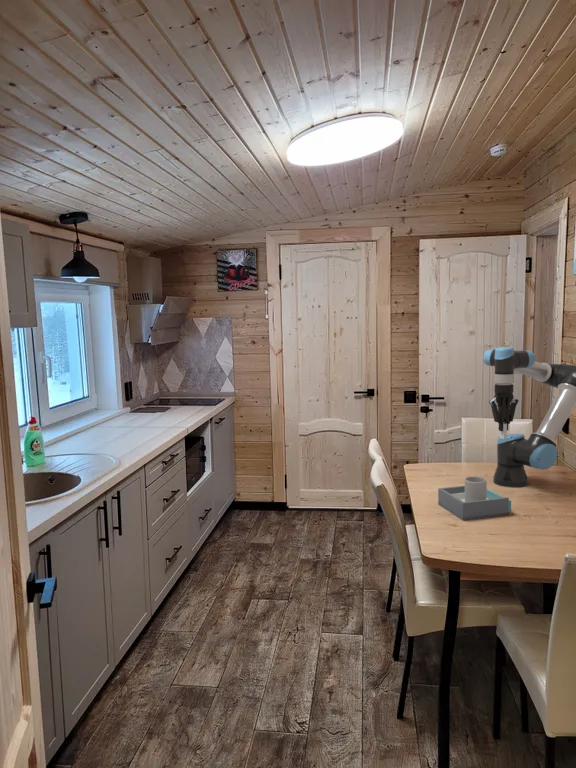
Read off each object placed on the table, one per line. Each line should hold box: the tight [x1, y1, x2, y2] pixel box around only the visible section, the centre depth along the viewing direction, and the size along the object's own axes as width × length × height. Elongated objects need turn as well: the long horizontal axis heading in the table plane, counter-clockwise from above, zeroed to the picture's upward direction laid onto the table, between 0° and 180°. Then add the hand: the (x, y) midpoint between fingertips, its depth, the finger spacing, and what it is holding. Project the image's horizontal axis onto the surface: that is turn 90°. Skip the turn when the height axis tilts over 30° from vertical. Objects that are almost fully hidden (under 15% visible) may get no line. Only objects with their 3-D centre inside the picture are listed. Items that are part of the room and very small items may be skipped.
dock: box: [437, 485, 510, 521], centre depth 228 cm, size 20×20×7 cm
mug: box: [464, 476, 488, 502], centre depth 228 cm, size 12×8×11 cm
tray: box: [452, 487, 512, 512], centre depth 228 cm, size 20×19×4 cm
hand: (503, 438), depth 238 cm, fingers closed
